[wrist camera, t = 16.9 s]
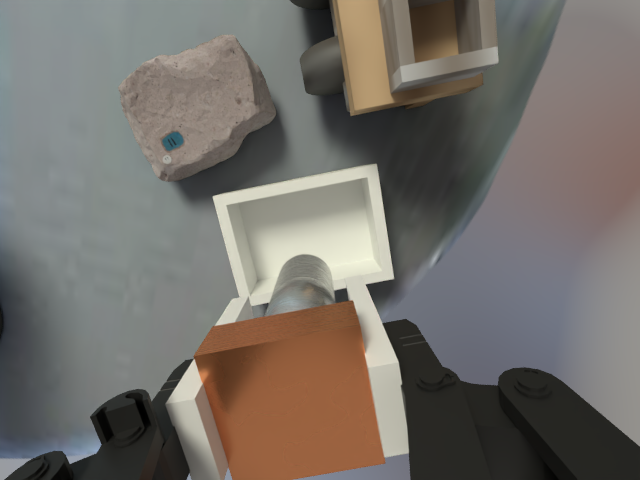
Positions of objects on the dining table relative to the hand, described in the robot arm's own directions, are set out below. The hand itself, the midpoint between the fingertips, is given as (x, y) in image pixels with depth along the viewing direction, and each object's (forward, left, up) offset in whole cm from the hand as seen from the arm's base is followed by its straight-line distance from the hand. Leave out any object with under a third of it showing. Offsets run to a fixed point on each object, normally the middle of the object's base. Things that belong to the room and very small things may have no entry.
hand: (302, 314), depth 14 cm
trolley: (+8, +17, -21) cm, 28 cm away
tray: (0, 0, -21) cm, 21 cm away
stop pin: (0, 0, -5) cm, 5 cm away
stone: (-8, +13, -21) cm, 26 cm away
